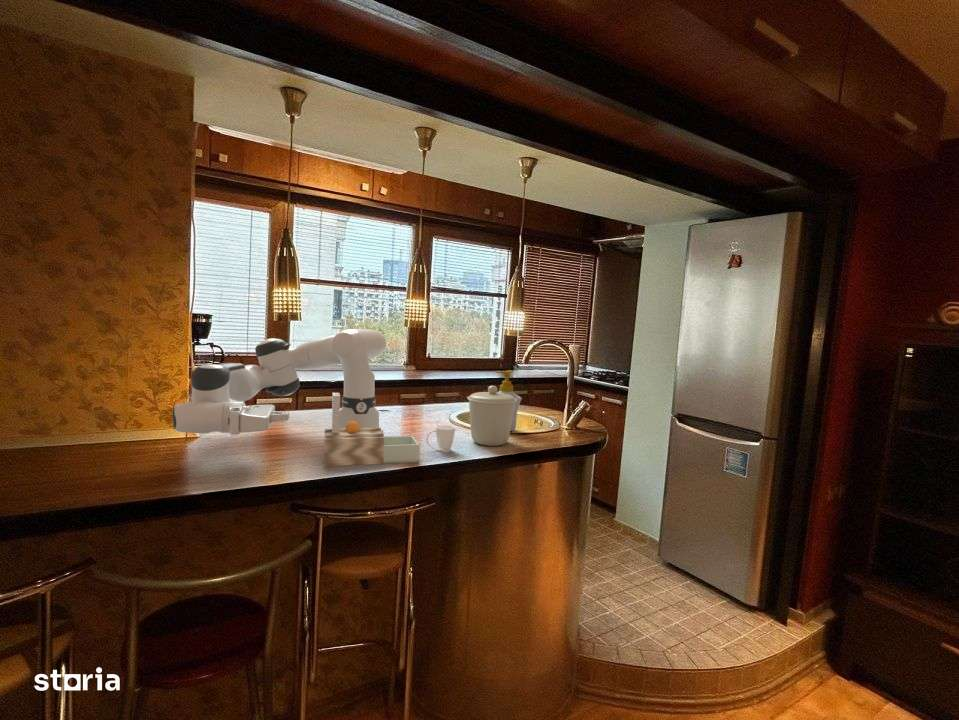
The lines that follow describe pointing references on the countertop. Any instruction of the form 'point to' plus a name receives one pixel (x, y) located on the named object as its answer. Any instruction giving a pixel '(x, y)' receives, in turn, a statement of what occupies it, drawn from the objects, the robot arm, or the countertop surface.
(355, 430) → the ball
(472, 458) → the countertop surface
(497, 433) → the canister
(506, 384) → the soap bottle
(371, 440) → the chevron patterned box
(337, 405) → the plunger paddle
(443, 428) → the cup
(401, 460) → the pale green open box
